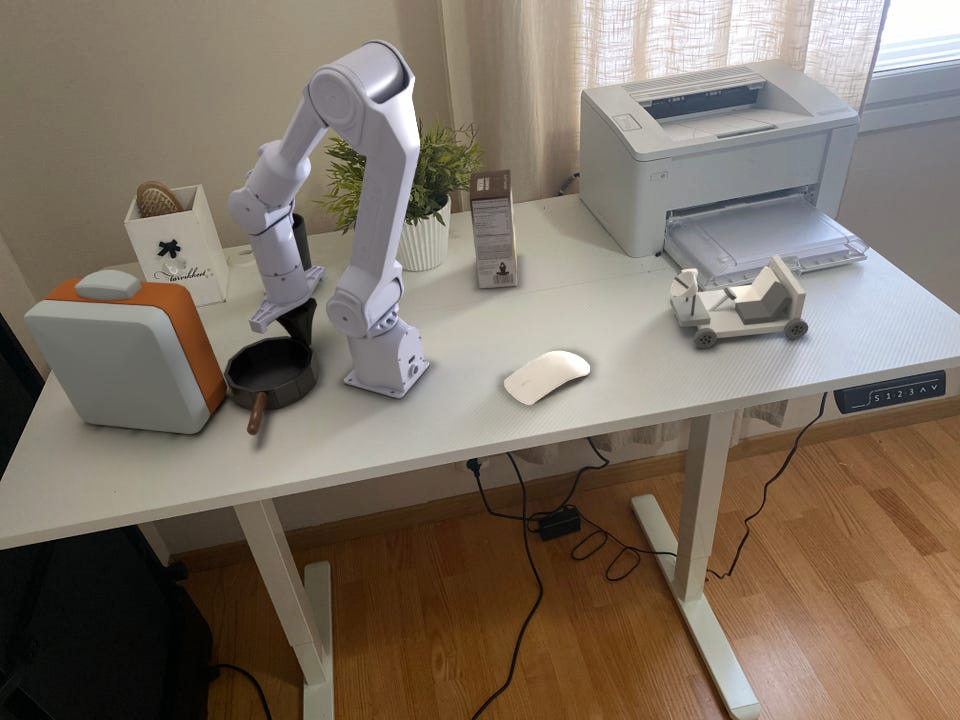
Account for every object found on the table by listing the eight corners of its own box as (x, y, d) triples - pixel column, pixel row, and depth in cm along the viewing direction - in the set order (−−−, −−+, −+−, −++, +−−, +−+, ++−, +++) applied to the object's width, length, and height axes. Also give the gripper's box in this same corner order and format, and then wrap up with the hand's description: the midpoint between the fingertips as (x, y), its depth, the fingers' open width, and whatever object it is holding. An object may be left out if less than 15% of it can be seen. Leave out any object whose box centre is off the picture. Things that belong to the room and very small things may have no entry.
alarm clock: (233, 393, 102) (182, 267, 90) (201, 437, 96) (142, 307, 83) (119, 383, 107) (55, 261, 94) (81, 425, 100) (7, 299, 87)
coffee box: (479, 260, 125) (469, 171, 115) (516, 257, 124) (510, 167, 114) (478, 289, 117) (468, 197, 107) (518, 287, 117) (512, 194, 107)
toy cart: (680, 291, 95) (658, 247, 104) (674, 351, 101) (654, 304, 110) (820, 277, 94) (786, 233, 103) (806, 338, 100) (775, 292, 110)
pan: (242, 359, 108) (234, 340, 106) (322, 351, 108) (317, 332, 106) (211, 454, 93) (202, 434, 91) (305, 444, 93) (298, 424, 91)
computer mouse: (497, 382, 99) (496, 369, 98) (568, 348, 104) (568, 335, 102) (526, 409, 95) (525, 396, 93) (599, 373, 99) (599, 359, 98)
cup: (311, 301, 119) (292, 236, 112) (267, 300, 121) (246, 235, 113) (327, 276, 125) (311, 212, 118) (286, 275, 127) (267, 212, 119)
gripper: (290, 235, 106) (312, 312, 114) (220, 287, 96) (250, 368, 104) (329, 243, 103) (349, 321, 111) (262, 297, 93) (289, 379, 101)
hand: (304, 345), depth 108 cm, fingers closed
